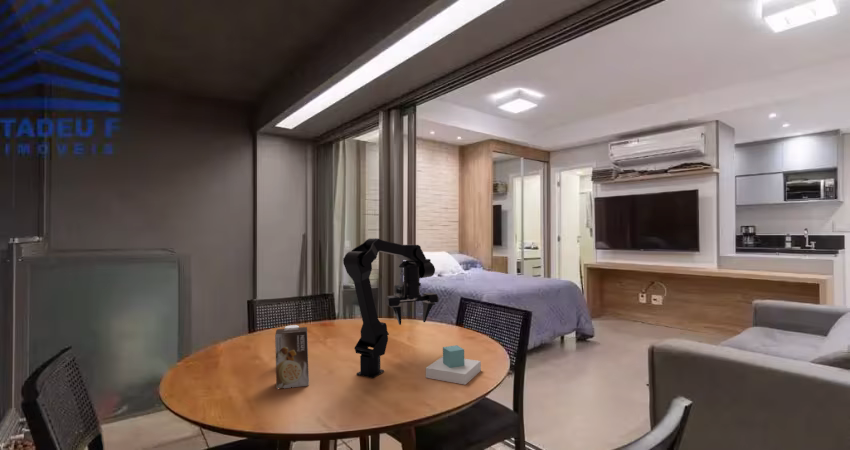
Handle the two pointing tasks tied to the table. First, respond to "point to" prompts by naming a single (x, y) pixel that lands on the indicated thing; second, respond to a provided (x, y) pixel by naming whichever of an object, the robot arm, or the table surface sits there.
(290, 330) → the coffee box
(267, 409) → the table surface
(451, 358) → the teal block
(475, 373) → the grey base
